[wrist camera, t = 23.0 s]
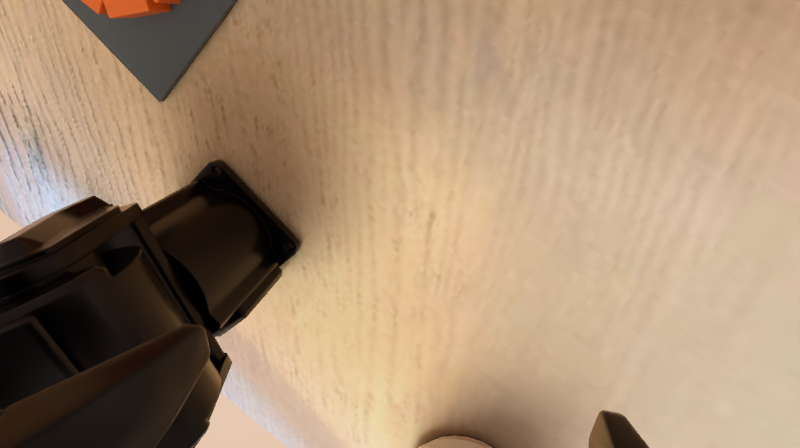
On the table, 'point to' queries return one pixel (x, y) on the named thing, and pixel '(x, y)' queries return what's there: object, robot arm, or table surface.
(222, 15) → the grey mat
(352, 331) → the table surface
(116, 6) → the orange ring
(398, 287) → the table surface
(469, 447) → the can
